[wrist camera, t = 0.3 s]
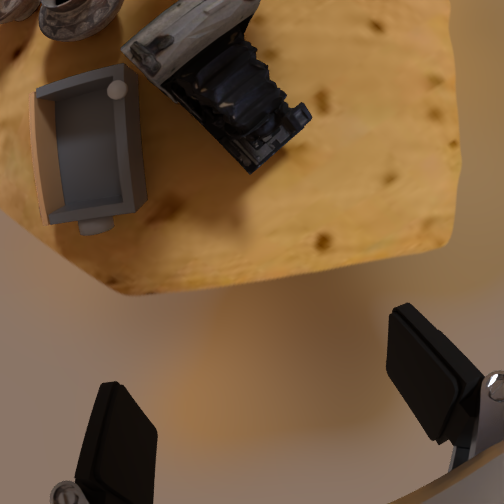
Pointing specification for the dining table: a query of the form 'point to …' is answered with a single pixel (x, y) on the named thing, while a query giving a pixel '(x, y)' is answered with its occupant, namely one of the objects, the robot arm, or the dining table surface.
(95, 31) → the pottery
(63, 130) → the grey open drawer box
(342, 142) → the dining table surface
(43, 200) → the door
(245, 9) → the vintage camera
